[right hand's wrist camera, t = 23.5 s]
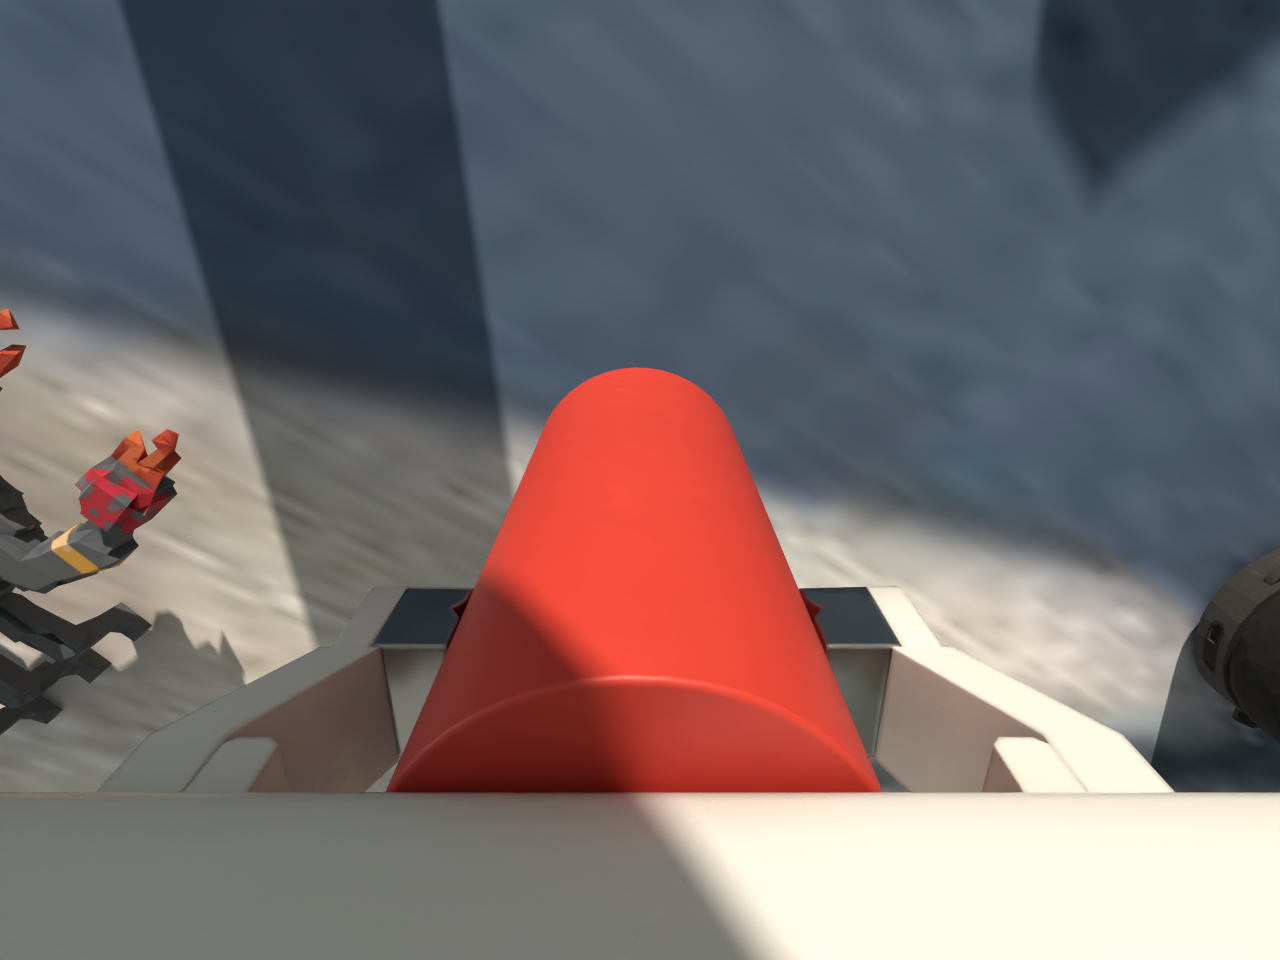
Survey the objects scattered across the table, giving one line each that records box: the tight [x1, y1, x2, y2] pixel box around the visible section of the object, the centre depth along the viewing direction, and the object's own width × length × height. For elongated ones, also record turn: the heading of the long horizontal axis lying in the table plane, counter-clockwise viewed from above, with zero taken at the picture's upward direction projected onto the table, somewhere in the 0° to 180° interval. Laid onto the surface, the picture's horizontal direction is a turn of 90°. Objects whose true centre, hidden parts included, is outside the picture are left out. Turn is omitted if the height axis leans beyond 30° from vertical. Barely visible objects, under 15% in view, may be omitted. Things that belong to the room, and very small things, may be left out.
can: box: [386, 368, 882, 793], centre depth 11 cm, size 5×5×11 cm
